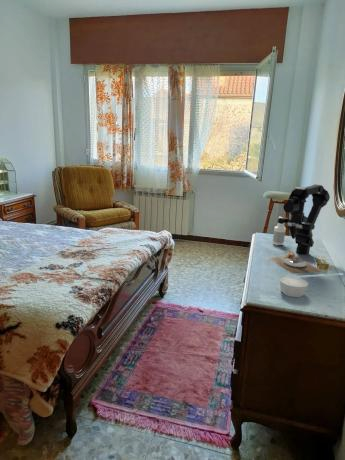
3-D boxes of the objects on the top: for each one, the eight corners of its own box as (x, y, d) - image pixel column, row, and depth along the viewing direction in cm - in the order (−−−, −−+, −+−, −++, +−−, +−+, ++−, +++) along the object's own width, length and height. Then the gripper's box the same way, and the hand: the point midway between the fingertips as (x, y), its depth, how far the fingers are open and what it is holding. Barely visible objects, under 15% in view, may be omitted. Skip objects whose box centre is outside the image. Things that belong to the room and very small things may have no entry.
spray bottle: (271, 244, 204) (275, 217, 200) (273, 242, 210) (277, 215, 205) (282, 246, 201) (286, 218, 197) (284, 244, 207) (288, 216, 202)
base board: (297, 258, 182) (297, 256, 181) (323, 273, 161) (323, 271, 161) (268, 259, 177) (268, 257, 177) (291, 275, 157) (291, 273, 157)
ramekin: (273, 289, 141) (274, 278, 140) (292, 285, 146) (294, 274, 144) (291, 300, 131) (293, 288, 130) (311, 296, 136) (313, 285, 134)
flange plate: (309, 268, 164) (310, 261, 163) (287, 267, 164) (288, 260, 163) (299, 258, 177) (300, 252, 176) (279, 257, 177) (280, 251, 176)
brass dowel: (287, 259, 177) (288, 253, 176) (289, 260, 175) (290, 254, 174) (284, 259, 176) (285, 254, 175) (286, 260, 175) (287, 255, 174)
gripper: (321, 212, 171) (316, 240, 175) (289, 206, 184) (286, 232, 188) (311, 214, 164) (306, 244, 168) (279, 208, 177) (275, 235, 181)
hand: (293, 238), depth 176 cm, fingers closed
